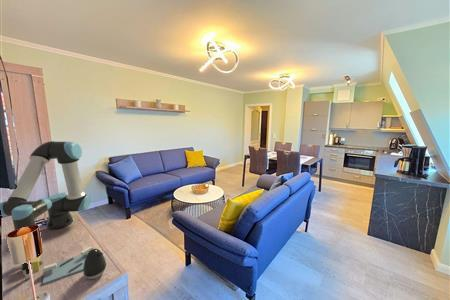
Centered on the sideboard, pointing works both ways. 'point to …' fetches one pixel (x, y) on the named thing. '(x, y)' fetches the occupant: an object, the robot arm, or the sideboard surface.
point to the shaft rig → (65, 267)
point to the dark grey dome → (94, 264)
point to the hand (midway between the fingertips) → (32, 268)
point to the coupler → (35, 264)
